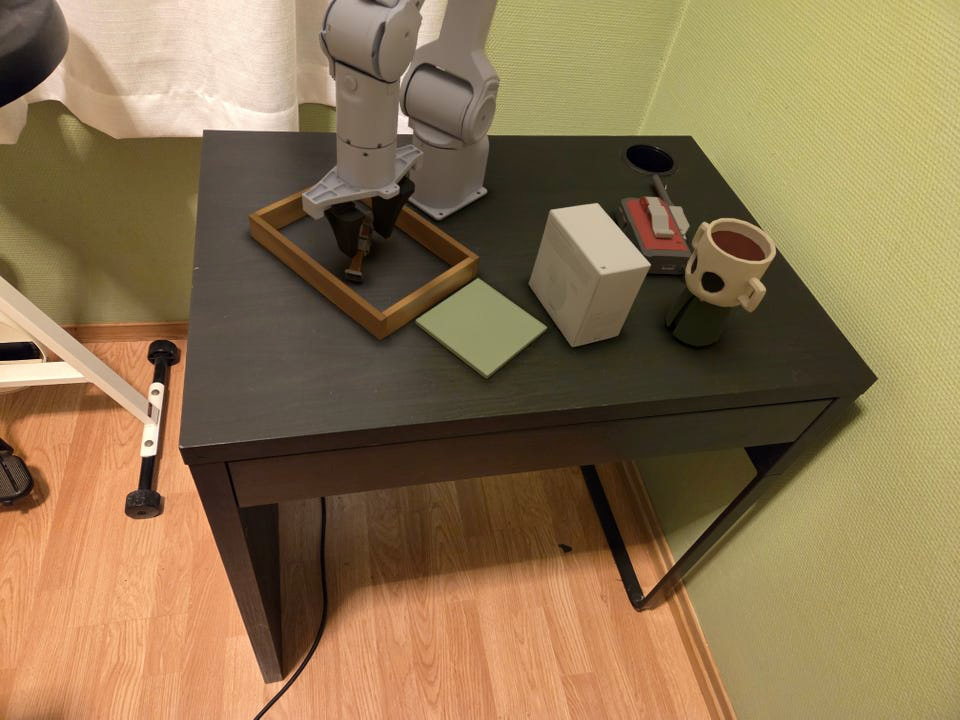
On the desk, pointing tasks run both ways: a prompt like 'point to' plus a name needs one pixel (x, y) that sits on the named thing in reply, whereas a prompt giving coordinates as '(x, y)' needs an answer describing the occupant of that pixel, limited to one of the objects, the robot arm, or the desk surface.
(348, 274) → the wooden post with brackets
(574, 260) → the cosmetics box
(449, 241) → the wooden frame
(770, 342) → the desk surface
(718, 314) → the character mug
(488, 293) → the mat
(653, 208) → the walkie-talkie
